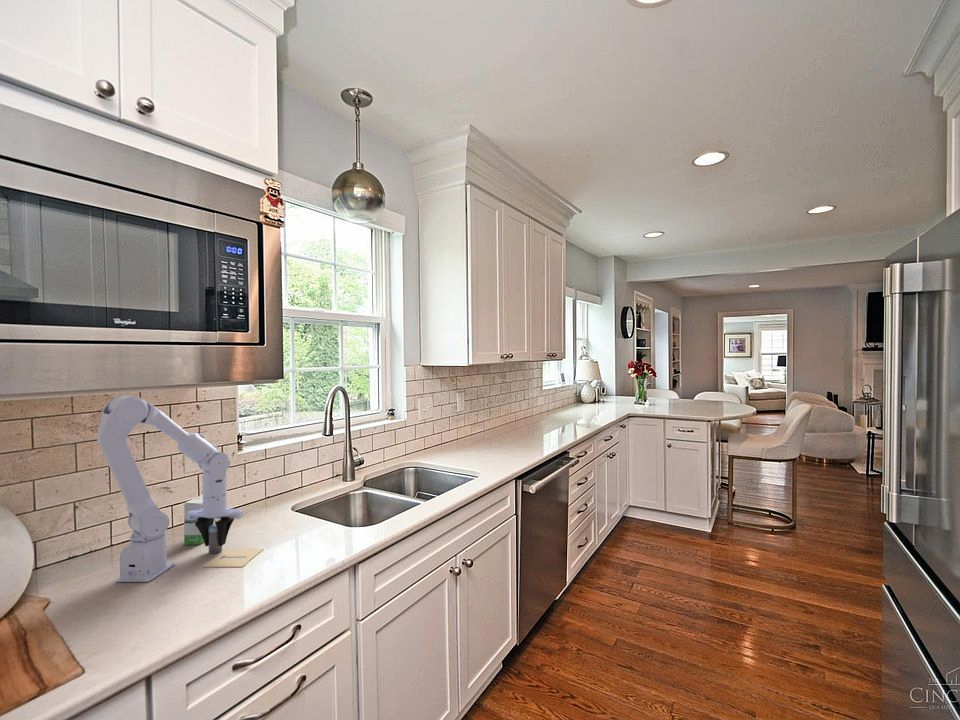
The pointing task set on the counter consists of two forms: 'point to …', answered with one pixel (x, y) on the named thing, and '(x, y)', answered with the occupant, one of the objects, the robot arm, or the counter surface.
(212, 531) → the marker
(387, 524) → the counter surface
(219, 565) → the tan square board
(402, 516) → the counter surface
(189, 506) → the ink box
